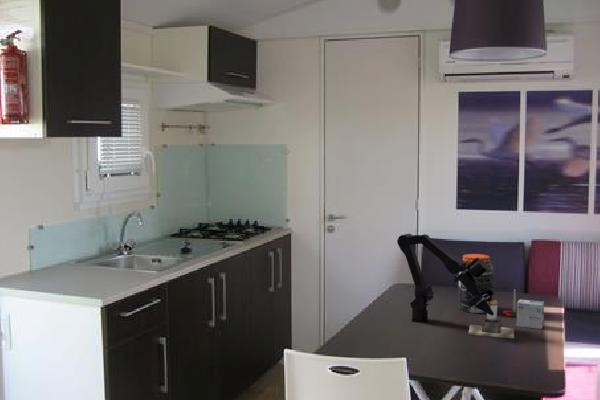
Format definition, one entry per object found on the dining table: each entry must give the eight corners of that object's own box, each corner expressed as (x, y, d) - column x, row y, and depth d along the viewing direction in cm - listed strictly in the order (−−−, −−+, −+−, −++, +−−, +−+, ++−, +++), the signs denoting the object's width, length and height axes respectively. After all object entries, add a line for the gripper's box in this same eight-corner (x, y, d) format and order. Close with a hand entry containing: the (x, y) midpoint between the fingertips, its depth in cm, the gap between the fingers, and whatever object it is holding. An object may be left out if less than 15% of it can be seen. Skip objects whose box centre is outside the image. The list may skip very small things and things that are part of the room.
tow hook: (501, 312, 327) (504, 316, 318) (502, 285, 326) (505, 288, 317) (520, 313, 326) (523, 317, 316) (521, 286, 325) (524, 289, 316)
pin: (488, 330, 289) (489, 301, 288) (485, 327, 293) (486, 299, 292) (497, 330, 290) (498, 301, 288) (494, 327, 294) (495, 299, 292)
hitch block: (468, 334, 288) (469, 322, 288) (469, 326, 300) (470, 315, 299) (513, 338, 283) (514, 326, 283) (513, 330, 295) (513, 319, 294)
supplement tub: (495, 308, 333) (497, 254, 331) (488, 315, 320) (490, 259, 317) (462, 304, 341) (464, 252, 338) (454, 311, 327) (455, 256, 324)
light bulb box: (543, 325, 303) (544, 301, 302) (541, 329, 297) (542, 304, 296) (518, 322, 308) (519, 298, 307) (516, 326, 302) (516, 302, 301)
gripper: (475, 276, 284) (501, 307, 279) (492, 269, 299) (516, 298, 294) (456, 292, 289) (481, 322, 284) (474, 285, 304) (497, 313, 299)
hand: (495, 313), depth 290 cm, fingers closed on pin, 4 cm apart
